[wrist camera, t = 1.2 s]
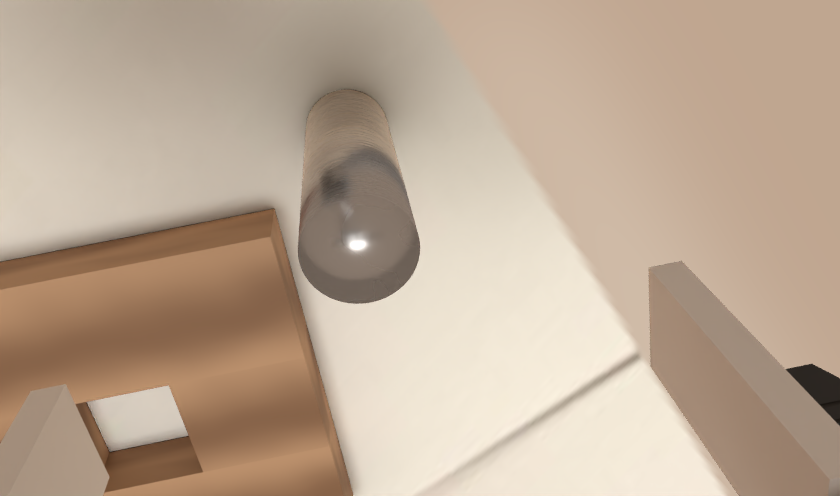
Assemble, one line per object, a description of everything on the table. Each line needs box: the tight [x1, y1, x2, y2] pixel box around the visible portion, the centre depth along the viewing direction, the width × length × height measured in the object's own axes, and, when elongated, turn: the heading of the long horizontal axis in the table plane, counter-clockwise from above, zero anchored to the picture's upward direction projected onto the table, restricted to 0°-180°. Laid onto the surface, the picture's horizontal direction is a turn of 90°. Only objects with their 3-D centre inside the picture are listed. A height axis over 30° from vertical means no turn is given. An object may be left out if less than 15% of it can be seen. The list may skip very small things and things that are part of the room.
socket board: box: [0, 209, 353, 496], centre depth 36 cm, size 18×18×3 cm
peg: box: [298, 89, 420, 304], centre depth 27 cm, size 4×4×12 cm
